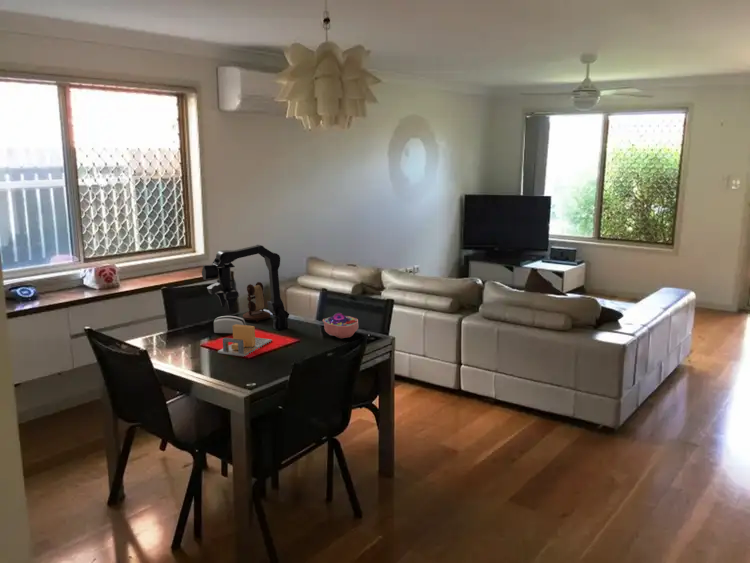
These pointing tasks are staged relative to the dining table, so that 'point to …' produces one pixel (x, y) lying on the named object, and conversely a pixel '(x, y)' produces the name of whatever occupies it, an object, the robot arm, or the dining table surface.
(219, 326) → the grey napkin holder
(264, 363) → the dining table surface
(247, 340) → the tan chunky block
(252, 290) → the brown round-based stand
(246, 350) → the baseplate
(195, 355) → the dining table surface
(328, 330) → the cell model
